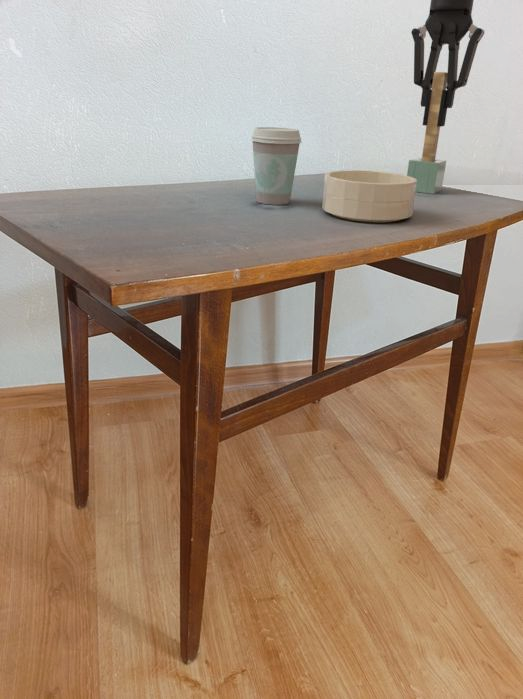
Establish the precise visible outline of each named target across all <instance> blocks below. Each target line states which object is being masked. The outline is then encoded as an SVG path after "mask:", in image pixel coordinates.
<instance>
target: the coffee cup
mask: <svg viewBox="0 0 523 699" xmlns="http://www.w3.org/2000/svg"><path fill="white" fill-rule="evenodd" d="M250 141H251V142H252V153H253V155H252V156H253V157H252V158H253V169H254V182H255V183H254V184H255V197H256V202H257V203H259V204H263V205H271V206H283V205H289V204H290V202H291V198H292V197H291V196H292V192H293V191H292V190H293V185H294V180H295V174H296V168H297V162H298V156H299V150H300V144H302V137H301V133H300V130H299V129H296V128H289V127H274V126H272V127H271V126H270V127H269V126H259V127H258V126H257V127H254V129H253V133H252V135H251V139H250Z"/></svg>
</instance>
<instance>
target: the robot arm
mask: <svg viewBox="0 0 523 699" xmlns="http://www.w3.org/2000/svg"><path fill="white" fill-rule="evenodd" d="M473 6H474V0H430V5H429V12H428V13H429V14H428V17H427V19H426V20H425V23H424V24H423V25H421V26H420V27H418V28H415V27H414V28H412V29H411V36H412V39H413V44H414V46H413V47H414V48H413V84H414V85H416V86H419V87H420V88H421V90H422V91H421V97H420V107H423V108H424V112H423V118H422V126H427V119H428V112H429V105H430V99H431V92H432V84H433V77H434V72H437V67H438V63H439V59H440V55H441V51H442V50H443V46H444V45H448V46H447V50H448V59H447V73H448V75H447V86H446V90H442V96H441V103H440V110H439V116H438V123H437V126H440V128H441V127H445V124H446V119H447V112H448V109H452V108H453V106H454V100H455V95H456V91H457V90H458V89H460V88H463V87H465V86H467V83H468V79H469V76H470V73H471V71H472V70H471V69H472V67H473V62H474V58H475V55H476V52H477V48H478V45H479V43H480V41H482V38H483V37H484V36H485V29H482V28H481V27H478V26H476V25H474V22H473V17H472V12H473ZM468 32H469V33H468ZM427 33H428V35H429V37H430V39H431V44H430V52H429V57H428V60H427V64H426V68H425V38H426V37H427ZM467 33H468V38H469V41H468V42H467V46H466V49H465V53H464V57H463V60H462V64H461V68H460V71H459V75H458V70H459V69H458V67H459V50H460V42H461V41H462V40H463V38H465V36H466V34H467Z"/></svg>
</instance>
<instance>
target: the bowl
mask: <svg viewBox="0 0 523 699" xmlns="http://www.w3.org/2000/svg"><path fill="white" fill-rule="evenodd" d="M416 184H417V179H415V178H413V177H410V176H407V174H400V173H394V172H385V171H376V170H360V169H359V170H358V169H348V170H347V169H346V170H344V169H343V170H333V171H328V172H326V173H325V174H324V181H323V193H322V194H323V195H322V205H321V209H322V210H323V211H324V212H326V213H328V214H331V215H332V216H334V217H336V218H339V219H344V220H348V221H355V222H363V223H392V222H398V221H401V220H405V219H408V218H411V217H412V216H413V210H414V204H415V199H416V198H415V197H416V192H415V191H416Z"/></svg>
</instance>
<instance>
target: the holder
mask: <svg viewBox="0 0 523 699" xmlns="http://www.w3.org/2000/svg"><path fill="white" fill-rule="evenodd" d="M446 165H447V159H437V158H435V161H434V162H432V161H422V157H416V158H412V159H409V160H408V165H407V171H406V176H410V177H413V178H415V179H417V184H416V191H415V193H423V194H428V195H429V194H431V195H434V194H437V193H439V192H441V191H442V190H443V185H444V178H445V172H446Z"/></svg>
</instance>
